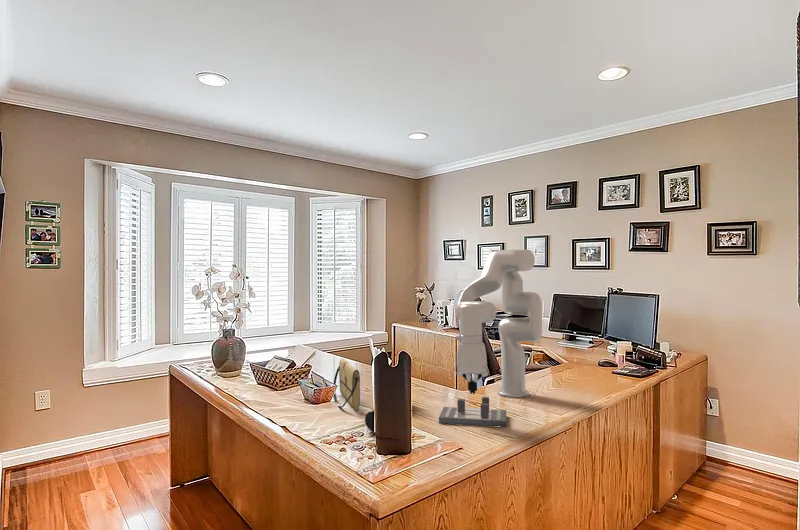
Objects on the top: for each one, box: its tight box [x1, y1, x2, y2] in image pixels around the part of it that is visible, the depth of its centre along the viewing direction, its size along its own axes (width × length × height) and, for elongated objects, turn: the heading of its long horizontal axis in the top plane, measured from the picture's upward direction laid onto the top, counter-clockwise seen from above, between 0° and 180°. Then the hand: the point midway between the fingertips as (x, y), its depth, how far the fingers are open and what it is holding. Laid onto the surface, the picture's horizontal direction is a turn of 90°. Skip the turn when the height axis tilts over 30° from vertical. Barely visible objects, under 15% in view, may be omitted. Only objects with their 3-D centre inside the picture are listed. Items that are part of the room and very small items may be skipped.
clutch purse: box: [333, 358, 361, 411], centre depth 183 cm, size 30×7×15 cm, turn 18°
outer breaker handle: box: [480, 402, 488, 418], centre depth 154 cm, size 2×2×4 cm
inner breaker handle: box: [481, 396, 490, 410], centre depth 163 cm, size 2×2×4 cm
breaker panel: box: [438, 406, 507, 428], centre depth 159 cm, size 13×22×2 cm, turn 77°
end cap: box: [364, 409, 375, 434], centre depth 150 cm, size 10×7×7 cm
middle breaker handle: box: [457, 398, 466, 412], centre depth 160 cm, size 2×2×4 cm
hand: (472, 392), depth 160 cm, fingers closed
